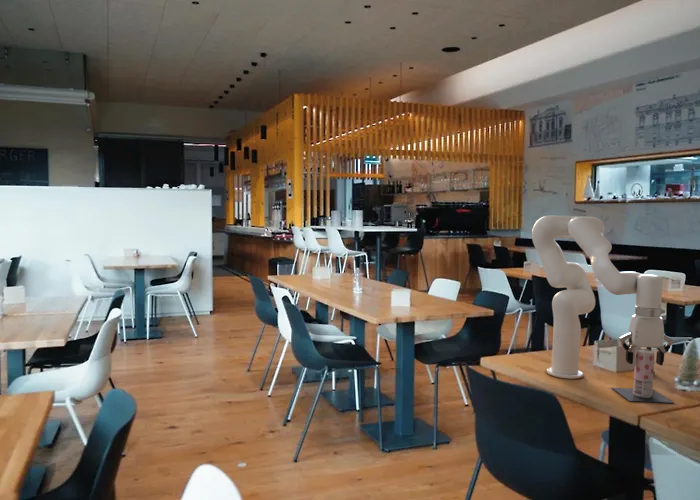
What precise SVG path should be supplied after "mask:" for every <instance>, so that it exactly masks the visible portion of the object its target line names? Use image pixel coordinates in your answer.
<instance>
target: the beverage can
mask: <svg viewBox="0 0 700 500" xmlns="http://www.w3.org/2000/svg"><path fill="white" fill-rule="evenodd" d="M634 356H635V357H634V371H633V387H632V389H633V394H634V395H635V396H638V397H643V398H650V397H651V396H652V390H654V389H653V388H654V387H653V386H654V374H653V372H655V351H654V350H652V349H651V350H647V349H646V348H637V349H636V350H635V355H634Z"/></svg>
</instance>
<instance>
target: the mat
mask: <svg viewBox="0 0 700 500" xmlns="http://www.w3.org/2000/svg"><path fill="white" fill-rule="evenodd" d="M611 389H612V390H613V391H614V392H615V393H617V394H618V395H620V396H621V397H622V398H623V399H625V400H626V401H628V402H629V403H652V404H675V403H674V402H673V401H672V400H671V399H669V398H668V397H666V396H664V395H662V393H659V392H658V391H656V390H655V389H652V396H651V397H650V398H643V397H638V396H635V395H634V394H633V388H629V387H628V388H625V387H612V388H611Z"/></svg>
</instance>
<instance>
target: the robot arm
mask: <svg viewBox="0 0 700 500" xmlns="http://www.w3.org/2000/svg"><path fill="white" fill-rule="evenodd" d="M604 233H605V225H604V223H603V221H602V220H601V219H599V218H598V217H595V216H583V215H582V216H581V215H580V216H575V215H555V214H553V215H552V214H551V215H544V216H542V217H540V218H539V219H537V220H536V221H535V223H534V225H533V227H532V230H531V239H532V244H533V246H534V249H535V250H536V252H537V255H538V257H539V260H540V264H541V266H542V268H543V269H542V270H543V272H544V274H545V277H546V281H547V282H548V284H549V285H550V286H551V287H552V288H557V289H562V290H561V291H559V292H558V291H557V293H556V294H555V295H554V296H553V298H552V301H551V309H552V317H553V328H552V330H553V331H552V348H551V349H552V350H551V366H550V367H547V369H546V373H547V374H548V375H550V376H552V377H556V378H560V379H567V380H568V379H570V380H575V379H581V378H583V376H584V375H583V374H584V373H583V372H582V371H581V370H579V369H580V368H579V366H580V365H579V364H580V349H581V336H582V335H581V333H582V332H581V331H582V326H581V321H580V317H579V315H586V314H589V313H591V312H592V311H593V310H594V309H595V306H596V296H595V293H594V291H593V289H592V286H591V283H590V281H589V280H590V279H589V278H588V276H587V273H586V271H585V268H583V267H582V265H580V264H579V263H577V262H574V261H567V259H566V257H565V255H564V252H563V250H562V248H561V246H560V244H558V243H557V241H556V239H573V241H575V243H576V244H577V245H578V246H579V248H580V249H581V250H582V251H583V253H585V255H586V256H587V257H588V258H589V260H590V266H591V268H592V272H593V274H594V276H595V278H596V279H597V280H598V281H599V283H600V284H601V285H602V286H603V287H604V289H606V290H607V292H609V293H610V294H612V295H615V296H622V295H623V296H624V295H635V310H634V314H632V315H631V317H630V321H629V326H628V331H627V333H625V334H623V335H621V336H619V337H618V341H619V343H620V346H621V347H622V348H623V349H624V350H625V361H626V363H628V364H629V365H633V363H634V352H633V350H635V349H636V348H637V347H638V348H647V347H651V348H652V347H656V348H655V349H657V351H656V357H655V363H656V365H659V366H663V364H664V362H665V354H666V353H667V352H668V351H669V350H670V349H671V346H672V345H673V344H674V343H675V342H674V339H672V338H671V337H669V336H667V335H665V327H664V320H663V317H662V314H666V310H665V309H663V308H662V302H663V301H662V299H663V286H664V279H663V278H662V276H660V275H657V274H645V273H640V272H636V271H619V270H618V268H617V267H616V266H615V265H614V263H612V261H611V260H610V257H609V253H610V252H611V251H612V247H613V246H612V244H611V242H610V241H609V240H608V239H607V238H606V237H605V235H604ZM564 288H566V289H564ZM563 289H564V290H563ZM626 340H627V343H626ZM665 341H666V343H664V342H665Z"/></svg>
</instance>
